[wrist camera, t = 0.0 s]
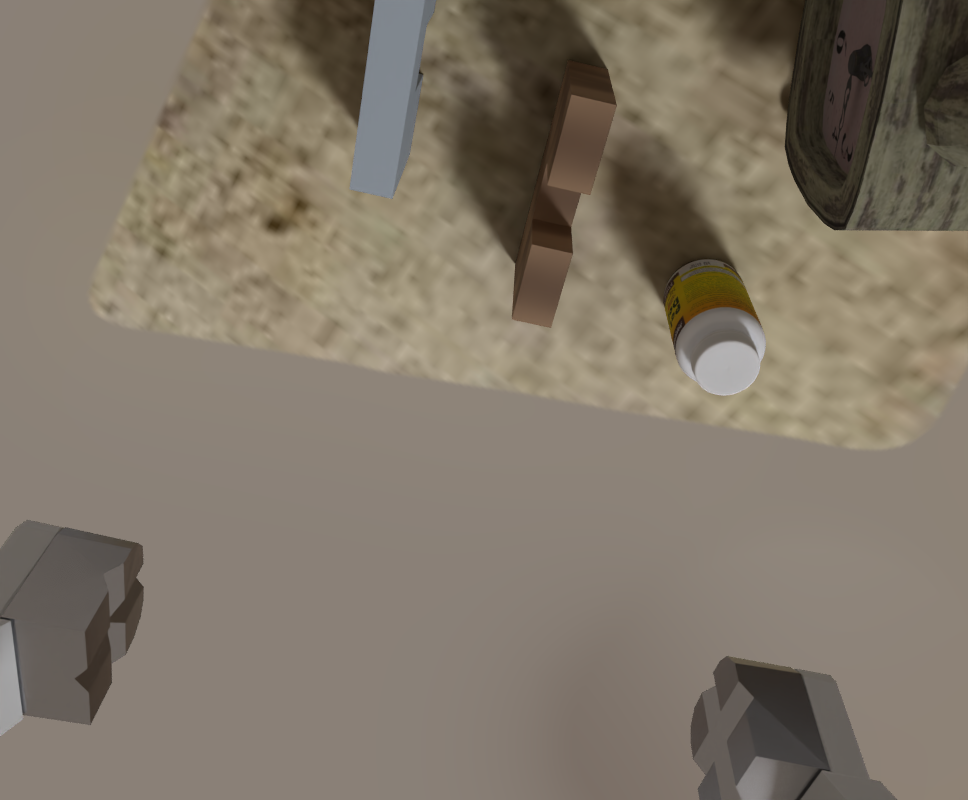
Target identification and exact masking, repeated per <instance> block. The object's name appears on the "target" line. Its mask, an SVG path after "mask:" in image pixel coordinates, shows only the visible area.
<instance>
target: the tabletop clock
mask: <svg viewBox="0 0 968 800" xmlns="http://www.w3.org/2000/svg"><path fill="white" fill-rule="evenodd" d="M785 150H786V155H787V160H788V164H789V167H790V170H791V173H792V175H793V178H794V180H795V182H796V184H797V186H798V188H799V190H800V192H801V193H802V195H803V197H804V199H805V201H806V203H807V205H808V206H809V207H810V208H811V209H812V210H813V211H814V213H815V214H816V215H817V216H818V217H819V218H820V219H821V220H822V222H823V223H824V224H826V225H827V226H829V227H830V228H832V229H834V230H901V231H968V0H805V5H804V10H803V16H802V21H801V26H800V32H799V38H798V45H797V51H796V58H795V64H794V71H793V78H792V84H791V91H790V98H789V105H788V113H787V123H786V137H785Z"/></svg>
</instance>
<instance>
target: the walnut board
mask: <svg viewBox="0 0 968 800" xmlns="http://www.w3.org/2000/svg"><path fill="white" fill-rule="evenodd" d="M616 106H617V104H616V100H615V96H614V92H613V89H612V85H611V81H610V77H609V73H608V69H604V68H600V67H596V66H592V65H588V64H583V63H579V62H575V61H571V60H568V62H567V66H566V70H565V74H564V77H563V81H562V85H561V89H560V93H559V97H558V101H557V105H556V108H555V112H554V116H553V120H552V124H551V128H550V132H549V136H548V139H547V143H546V147H545V151H544V155H543V159H542V163H541V167H540V170H539V174H538V178H537V182H536V186H535V190H534V194H533V198H532V202H531V205H530V209H529V213H528V217H527V221H526V225H525V229H524V233H523V236H522V240H521V244H520V248H519V252H518V256H517V260H516V264H515V277H514V293H513V309H512V319H513V320H517V321H522V322H527V323H531V324H536V325H540V326H545V327H550V328H551V326H552V322H553V319H554V316H555V312H556V309H557V306H558V302H559V299H560V295H561V292H562V289H563V285H564V282H565V278H566V275H567V272H568V268H569V265H570V262H571V258H572V255H573V248H572V234H571V226H572V222H573V219H574V215H575V212H576V208H577V205H578V202H579V198H580V195H581V193H583V194H587V195H590V194H591V191H592V187H593V184H594V181H595V177H596V174H597V170H598V167H599V164H600V160H601V157H602V154H603V150H604V147H605V143H606V140H607V137H608V133H609V130H610V126H611V123H612V120H613V116H614V113H615V110H616Z"/></svg>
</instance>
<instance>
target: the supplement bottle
mask: <svg viewBox="0 0 968 800" xmlns="http://www.w3.org/2000/svg"><path fill="white" fill-rule="evenodd" d="M664 306H665V311H666V316H667V320H668V324H669V329H670V333H671V337H672V341H673V345H674V349H675V354H676V357H677V360H678V363H679V365H680V367H681V369H682V370H683V371H684V373H685V374H686V375H687V376H689V377H690V378H691V379H693V380H694V381H696V382H698V384H699V385H700V386H701V387H702V388H703V389H704V390H706V391H707V392H710V393H712V394H716V395H731V394H735V393H738V392H740V391H742V390H744V389H746V388H747V387H749V386H750V385H751V384H752V383H753V382H754V380H755V379H756V377H757V375H758V373H759V370H760V362H761V360H762V358H763V356H764V352H765V347H766V340H765V335H764V332H763V329H762V326H761V324H760V321H759V319H758V317H757V314H756V312H755V310H754V307H753V305H752V302H751V300H750V298H749V295H748V293H747V291H746V288H745V286H744V284H743V281H742V279H741V277H740V276H739V274H738V273H737V272H736V271H735V270H734V269H733V268H732V267H731V266H729V265H728V264H726V263H724V262H721V261H718V260H712V259H703V260H697V261H694V262H691V263H689V264H686V265H685V266H683V267H681V268H680V269H679V270H677V271H676V272H675V273H674V274H673V275H672V277H671V278H670V280H669V281H668V283H667V285H666V288H665V292H664Z"/></svg>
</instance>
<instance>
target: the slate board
mask: <svg viewBox="0 0 968 800" xmlns="http://www.w3.org/2000/svg"><path fill="white" fill-rule="evenodd" d="M435 3H436V0H375V4H374V11H373V19H372V26H371V34H370V41H369V49H368V56H367V63H366V71H365V78H364V86H363V93H362V101H361V108H360V116H359V123H358V131H357V138H356V145H355V153H354V160H353V168H352V175H351V183H350V190H355V191H359V192H364V193H368V194H373V195H377V196H382V197H386V198H390V199H392V198H393V196H394V193H395V191H396V188H397V186H398V183H399V181H400V178H401V175H402V173H403V170H404V168H405V165H406V163H407V160H408V157H409V155H410V150H411V144H412V138H413V132H414V126H415V120H416V114H417V109H418V103H419V97H420V91H421V85H422V79H423V74H419V68H420V62H421V56H422V50H423V44H424V38H425V32H426V26H427V24H428V22H429V20H430V18H431V17H432V15H433V13H434V9H435Z"/></svg>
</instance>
